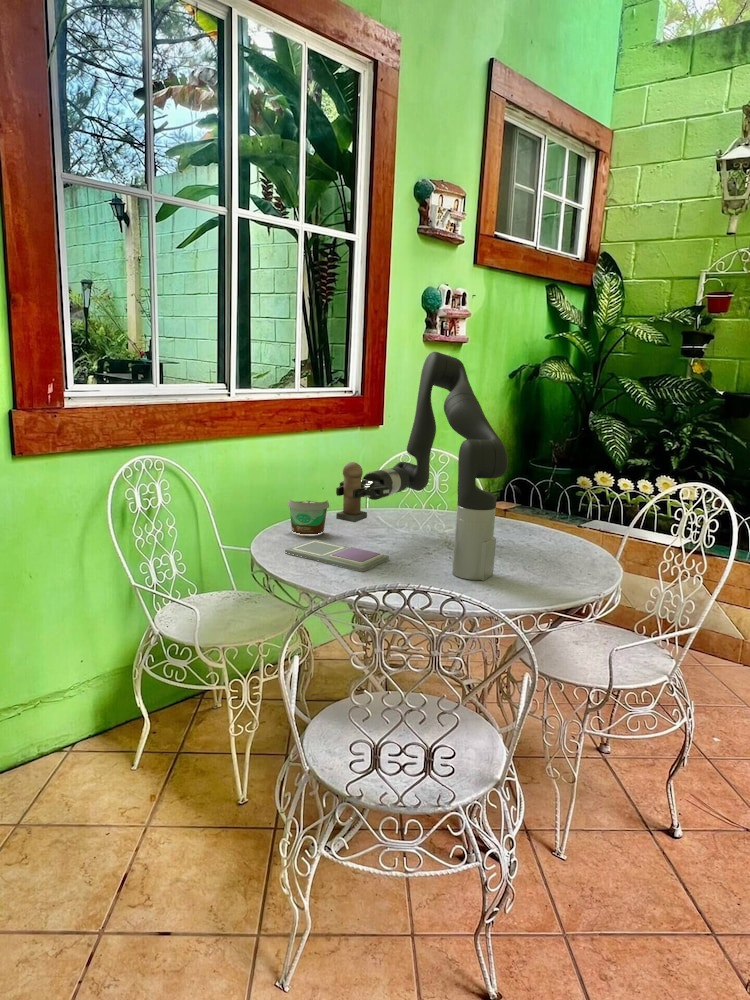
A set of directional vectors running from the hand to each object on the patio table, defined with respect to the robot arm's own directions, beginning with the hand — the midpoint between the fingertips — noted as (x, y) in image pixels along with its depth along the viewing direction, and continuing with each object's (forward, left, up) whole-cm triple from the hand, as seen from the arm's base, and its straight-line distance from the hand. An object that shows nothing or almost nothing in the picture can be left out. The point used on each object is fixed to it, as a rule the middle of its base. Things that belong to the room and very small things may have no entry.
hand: (346, 493), depth 161 cm
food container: (+23, -14, -18) cm, 32 cm away
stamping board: (+4, -2, -18) cm, 18 cm away
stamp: (0, -3, -7) cm, 8 cm away
